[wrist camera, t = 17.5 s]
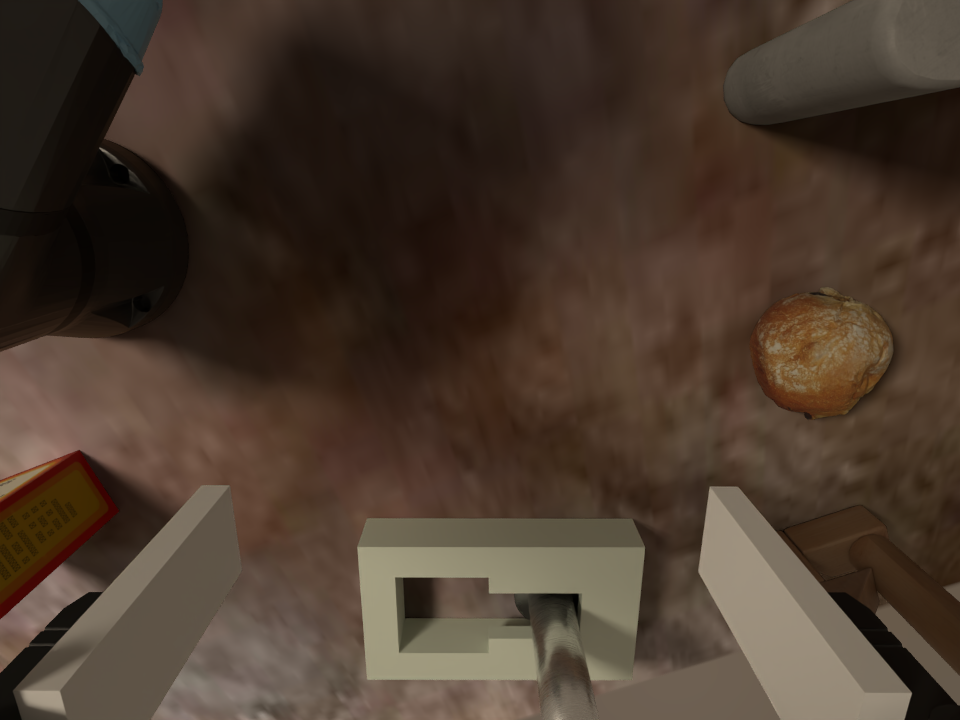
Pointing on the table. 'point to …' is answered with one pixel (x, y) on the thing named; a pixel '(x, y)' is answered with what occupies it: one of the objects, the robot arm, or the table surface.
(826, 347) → the bread roll
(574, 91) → the table surface
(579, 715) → the headed peg
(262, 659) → the table surface
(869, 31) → the flask
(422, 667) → the keyhole plate
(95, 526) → the baking soda box
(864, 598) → the brown multi-part fixture
